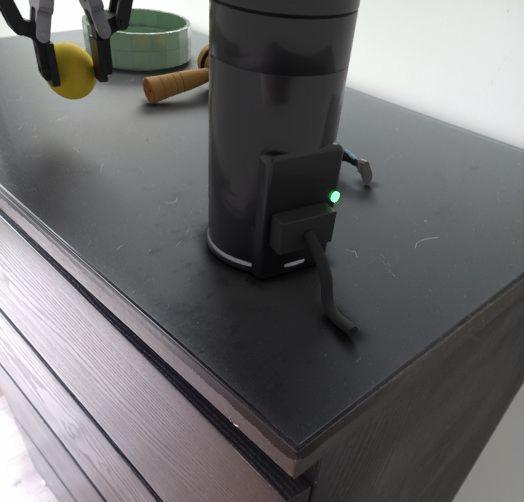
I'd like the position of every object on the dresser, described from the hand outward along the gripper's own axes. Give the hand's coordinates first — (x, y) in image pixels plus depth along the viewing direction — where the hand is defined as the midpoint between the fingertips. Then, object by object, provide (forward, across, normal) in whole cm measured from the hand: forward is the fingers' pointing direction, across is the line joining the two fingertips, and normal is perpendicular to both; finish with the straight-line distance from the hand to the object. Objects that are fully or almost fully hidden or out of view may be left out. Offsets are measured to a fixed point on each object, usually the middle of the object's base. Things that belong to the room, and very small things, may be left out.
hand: (78, 81), depth 51 cm
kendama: (+6, +20, +10) cm, 23 cm away
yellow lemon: (+1, 0, 0) cm, 1 cm away
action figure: (+7, +19, -10) cm, 23 cm away
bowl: (+6, +17, +28) cm, 34 cm away
